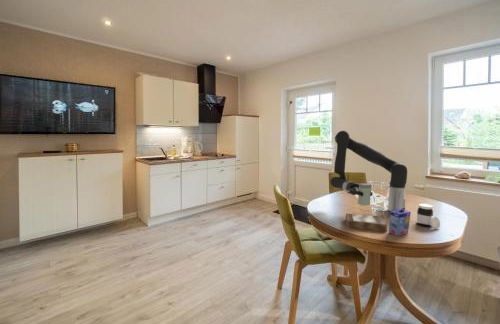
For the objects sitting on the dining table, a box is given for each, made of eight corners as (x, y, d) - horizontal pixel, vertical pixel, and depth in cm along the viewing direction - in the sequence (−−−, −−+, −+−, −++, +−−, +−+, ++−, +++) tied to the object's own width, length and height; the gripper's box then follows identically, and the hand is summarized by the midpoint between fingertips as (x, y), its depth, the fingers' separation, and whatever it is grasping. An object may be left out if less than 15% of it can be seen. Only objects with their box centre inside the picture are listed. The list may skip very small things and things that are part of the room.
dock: (381, 222, 151) (381, 215, 151) (386, 231, 138) (387, 224, 138) (345, 219, 157) (346, 212, 156) (347, 227, 144) (348, 220, 143)
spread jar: (417, 220, 154) (418, 202, 153) (440, 224, 147) (442, 205, 146) (414, 226, 145) (416, 207, 144) (439, 231, 138) (441, 210, 137)
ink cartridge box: (398, 236, 132) (400, 209, 130) (388, 232, 137) (389, 207, 135) (409, 233, 136) (411, 207, 134) (399, 229, 141) (401, 204, 139)
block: (365, 203, 149) (366, 183, 147) (369, 205, 145) (371, 184, 143) (357, 203, 148) (359, 183, 146) (361, 205, 144) (363, 185, 142)
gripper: (340, 182, 158) (356, 188, 141) (361, 181, 160) (379, 187, 143) (340, 193, 159) (355, 201, 142) (361, 192, 161) (378, 200, 144)
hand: (367, 194), depth 143 cm, fingers closed on block, 5 cm apart
